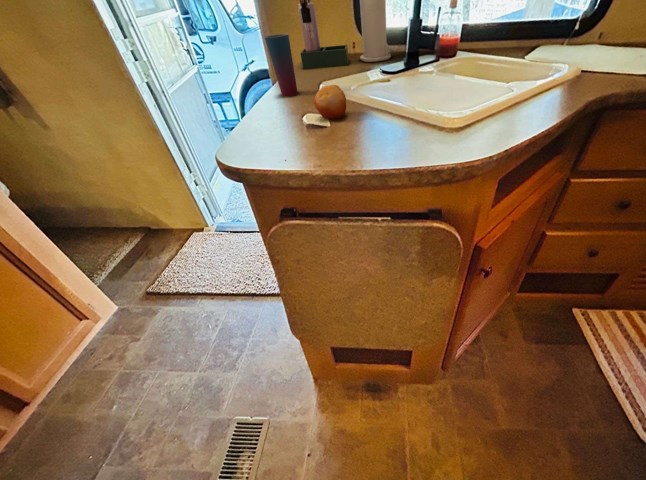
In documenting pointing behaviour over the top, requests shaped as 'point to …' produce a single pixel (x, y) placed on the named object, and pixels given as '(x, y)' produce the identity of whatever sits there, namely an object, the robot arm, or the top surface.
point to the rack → (325, 57)
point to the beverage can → (310, 31)
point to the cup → (282, 62)
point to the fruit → (330, 102)
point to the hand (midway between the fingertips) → (308, 21)
